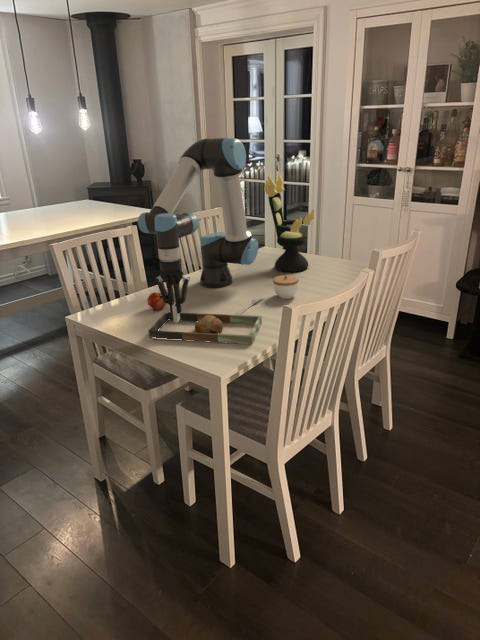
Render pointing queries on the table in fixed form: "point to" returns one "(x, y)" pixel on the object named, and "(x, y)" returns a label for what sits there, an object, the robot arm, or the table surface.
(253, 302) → the fork
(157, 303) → the pomegranate
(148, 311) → the table surface
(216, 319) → the bread roll
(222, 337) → the multicolored rectangular frame
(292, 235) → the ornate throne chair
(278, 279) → the lidded jar
